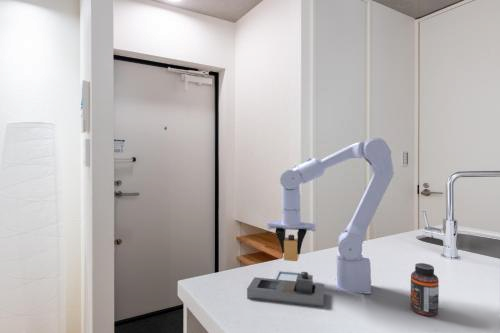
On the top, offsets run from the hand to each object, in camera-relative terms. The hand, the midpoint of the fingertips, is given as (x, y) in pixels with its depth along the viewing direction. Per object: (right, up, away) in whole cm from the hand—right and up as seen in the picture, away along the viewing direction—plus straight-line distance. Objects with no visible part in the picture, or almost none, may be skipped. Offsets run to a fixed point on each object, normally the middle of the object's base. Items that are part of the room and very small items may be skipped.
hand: (291, 252), depth 92 cm
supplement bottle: (+30, -9, -18) cm, 37 cm away
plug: (0, -2, 0) cm, 2 cm away
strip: (-3, -9, -10) cm, 14 cm away
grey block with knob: (+2, -9, -12) cm, 15 cm away
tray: (0, -9, 0) cm, 9 cm away
